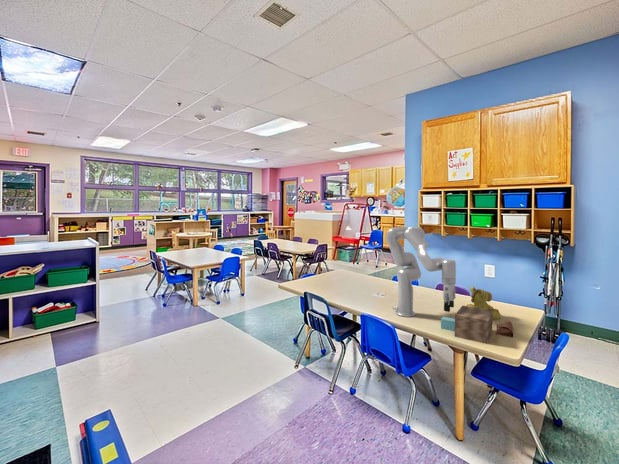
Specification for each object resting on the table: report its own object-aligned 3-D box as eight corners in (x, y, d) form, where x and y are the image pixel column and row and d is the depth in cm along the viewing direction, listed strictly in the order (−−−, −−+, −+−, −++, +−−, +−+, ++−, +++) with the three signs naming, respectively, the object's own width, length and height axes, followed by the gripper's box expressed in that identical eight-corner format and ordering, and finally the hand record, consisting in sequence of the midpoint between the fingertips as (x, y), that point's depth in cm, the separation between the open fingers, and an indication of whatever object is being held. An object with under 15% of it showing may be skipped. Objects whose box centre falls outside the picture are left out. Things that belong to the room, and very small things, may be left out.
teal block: (440, 328, 181) (441, 319, 180) (443, 326, 185) (443, 316, 184) (466, 334, 172) (467, 324, 172) (468, 331, 176) (468, 321, 176)
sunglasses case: (495, 323, 187) (502, 315, 185) (506, 331, 184) (513, 323, 182) (495, 334, 171) (503, 325, 169) (508, 342, 168) (515, 334, 166)
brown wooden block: (454, 336, 169) (455, 314, 168) (461, 325, 185) (462, 305, 184) (487, 343, 160) (488, 320, 159) (492, 331, 175) (492, 310, 174)
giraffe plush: (504, 316, 199) (506, 288, 198) (487, 325, 186) (488, 294, 184) (473, 308, 216) (474, 282, 214) (455, 315, 202) (456, 287, 201)
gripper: (452, 284, 169) (452, 314, 170) (458, 278, 183) (458, 306, 184) (438, 282, 174) (438, 312, 175) (445, 277, 188) (445, 304, 188)
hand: (448, 309), depth 179 cm, fingers open, 9 cm apart
